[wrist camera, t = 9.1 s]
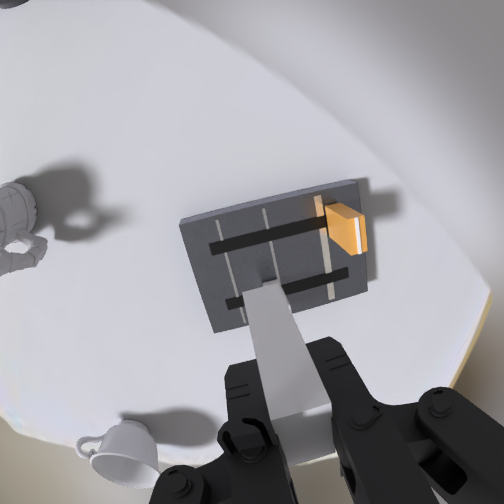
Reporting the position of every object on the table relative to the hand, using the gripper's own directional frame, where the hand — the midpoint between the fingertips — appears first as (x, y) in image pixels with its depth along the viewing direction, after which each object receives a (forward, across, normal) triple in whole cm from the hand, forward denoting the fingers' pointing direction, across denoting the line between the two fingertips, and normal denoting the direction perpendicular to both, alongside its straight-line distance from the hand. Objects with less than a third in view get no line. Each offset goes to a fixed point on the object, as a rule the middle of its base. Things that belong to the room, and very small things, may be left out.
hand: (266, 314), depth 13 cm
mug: (+23, -26, +6) cm, 35 cm away
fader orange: (+20, +10, -4) cm, 23 cm away
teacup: (+23, -28, -32) cm, 48 cm away
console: (+23, +4, -8) cm, 24 cm away
